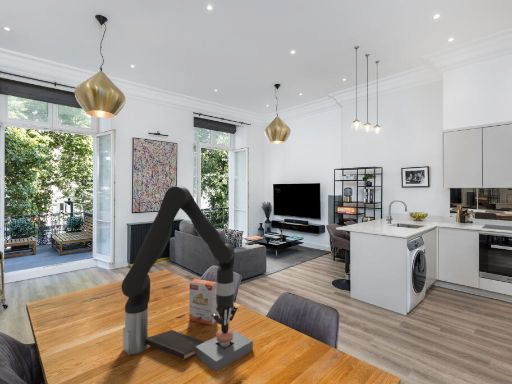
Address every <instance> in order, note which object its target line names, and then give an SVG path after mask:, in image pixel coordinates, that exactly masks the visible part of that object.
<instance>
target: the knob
mask: <svg viewBox="0 0 512 384" xmlns="http://www.w3.org/2000/svg"><path fill="white" fill-rule="evenodd" d="M233 330H234V329H232V328H229V329H228V332H227V333H223V332H222V331H221V328H219V329H218V330H217V331H216V337H217V341H219V342H220V347H221V348H222V349H226V348H228V347H229V346H230V341H231V340H232V339H233Z"/></svg>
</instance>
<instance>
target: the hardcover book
mask: <svg viewBox="0 0 512 384" xmlns="http://www.w3.org/2000/svg"><path fill="white" fill-rule="evenodd" d="M204 342H205V341H204V340H201V339H199V338H195V337H192V336H190V335H187V334H185V333H181V332H180V331H176V330H173V329H170V330H167V331H163V332H161V333H157V334H154V335H152V336H148V338H147V340H146V344H147V345H148V346H149V347H152V348H155V349H157V350H159V351H162V352H164V353H166V354H169V355H171V356H173V357H175V358H178V359H180V360H183V361H185V360H189V359H190V358H192V357H194V356H195V355H196V354H195V352H196V346H198V345H200V344H202V343H204Z"/></svg>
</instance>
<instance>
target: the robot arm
mask: <svg viewBox="0 0 512 384" xmlns="http://www.w3.org/2000/svg"><path fill="white" fill-rule="evenodd" d="M180 210H181V211H183V213H185V214H186V215H187V217H188V218H189V220H190V222H191V223H192V225H193V227H194V229H195V230H196V233H197V234H198V236H199V237H200V238H201V239H202V240H203V241H204V242H205V244H207V246H208V249H209V250H210V253H211V254H212V255H213V257H214V258H215V259H216V261H218V267H217V271H216V282H217V285H216V303H217V308H216V312H215V314H212V317H213V318H214V319H215V321H216V322H215V323H217V324H218V325H220V326H221V328H220V329H221V331H222V332H223V333H227V332H228V329H230V327H229V325H230V322H232V321H233V319H234V317H235V315H236V313H237V311H238V309H239V308H238V307H237V306H236V305H234V302H235V283H234V264H235V256H236V255H235V248H234V246H233V245H232V244H230V243H225V242H224V241H223V239H222V236H221V234H220V232H219V231H218V229H217V228H216V227H215V226H214V225H213V224H212V223H211V221H210V220H209V219H208V217H206V214H204V213H203V211H202V209H201V208H200V207H199V205H198V204H197V202H196V200H195V198H194V197H193V195H192V193H191V192H190V190H189V189H188V188H187V187H185V186H181V185H180V186H179V185H173V186H171V187H169V188H168V189H167V190H166V191H165V193H164V196H163V199H162V201H161V204H160V207H159V210H158V213H157V214H156V216H155V218H154V220H153V222H152V224H151V226H150V228H149V229H148V232H147V234H146V236H145V238H144V240H143V243H142V244H141V247H140V248H139V250H138V253H137V256H136V257H135V260H134V261H133V264H132V265H131V267H130V268H129V270H128V273H127V274H126V275H125V276H124V279H122V283H121V293H122V294H123V295H124V296H125V297H126V298H127V300H126V302H125V304H124V327H123V328H122V350H123V352H125V353H126V355H127V356H130V355H136V354H140V353H143V352H144V351H146V350H147V349H148V346H149V345H147V344H146V340H147V338H148V337H149V323H148V322H149V302H150V297H151V295H150V294H151V278H150V275H149V272H150V270H151V269H152V268H153V266H154V265H155V263H156V262H157V261H158V259H159V258H160V257H161V256H162V254H163V252H164V250H165V249H166V247H167V244H168V243H169V240H170V238H171V235H172V228H173V224H174V223H173V222H174V221H175V218H176V216H177V215H178V213H179V211H180Z"/></svg>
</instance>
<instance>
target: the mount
mask: <svg viewBox="0 0 512 384" xmlns="http://www.w3.org/2000/svg"><path fill="white" fill-rule="evenodd" d="M232 330H233V339H232V340H231V341H230V346H229V347H228V348H226V349H222V348H221V347H220V342H219V341H217V336H214V337H212V338H211V339H207V340H206V341H204V343H202V344H200V345H198V346H196V352H195V354H196V355H194V356H195V357H196V358H197V359H199V360H200V361H201V362H202V363H204V364H205V365H206V366H208V367H209V368H210V369H212V370H213V371H214V372H215V373H217V372H218V371H220V370H221V369H223V368H226V367H227V366H228V365H230V364H232V363H233V362H235V361H237V360H239V359H240V358H242V357H244V356H245V355H247V354H248V353H251V352H252V351H253V350H254V341H253V339H250V338H249V337H247V336H245V335H243V334H241V333H240V332H238V331H236V330H234V329H232Z"/></svg>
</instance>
